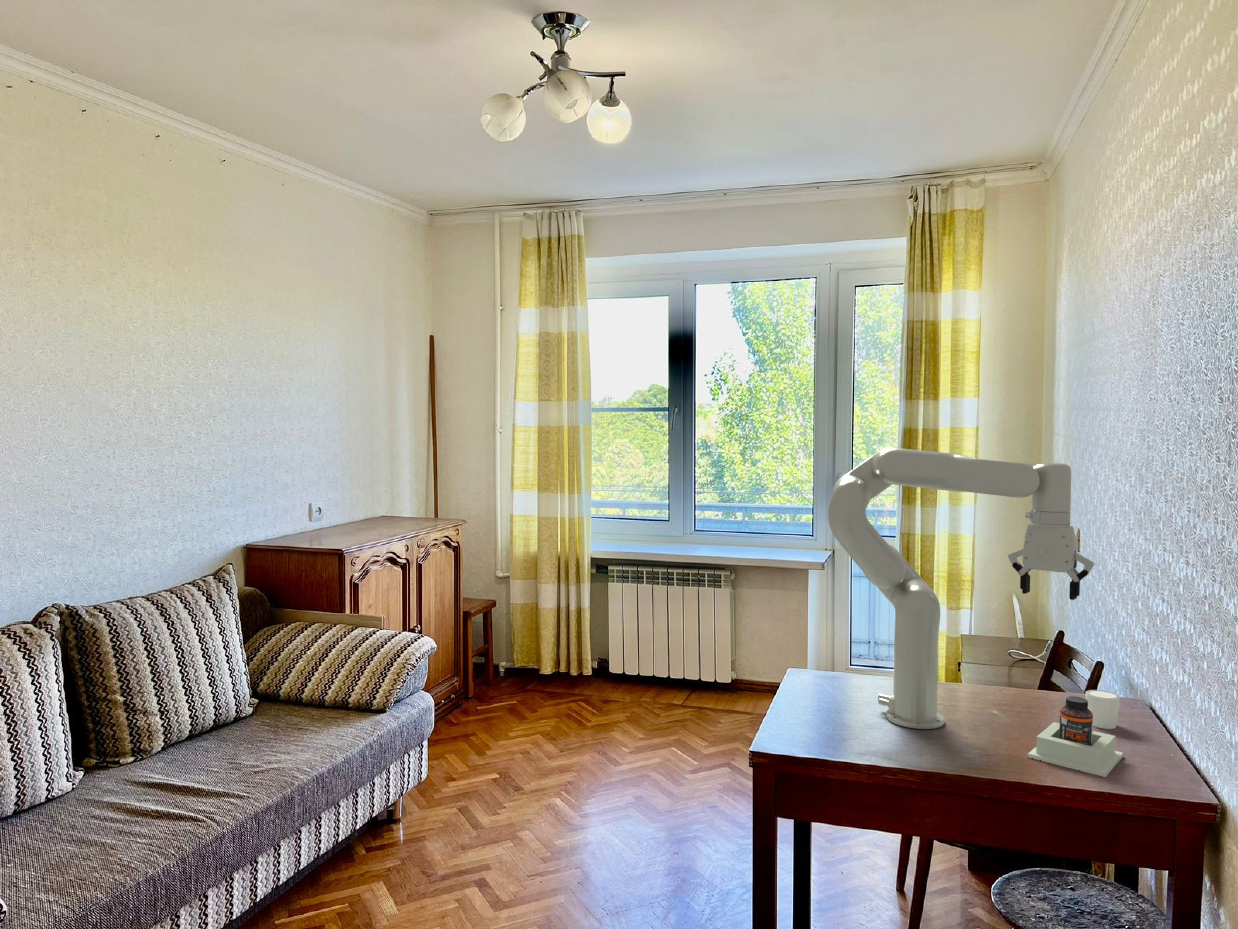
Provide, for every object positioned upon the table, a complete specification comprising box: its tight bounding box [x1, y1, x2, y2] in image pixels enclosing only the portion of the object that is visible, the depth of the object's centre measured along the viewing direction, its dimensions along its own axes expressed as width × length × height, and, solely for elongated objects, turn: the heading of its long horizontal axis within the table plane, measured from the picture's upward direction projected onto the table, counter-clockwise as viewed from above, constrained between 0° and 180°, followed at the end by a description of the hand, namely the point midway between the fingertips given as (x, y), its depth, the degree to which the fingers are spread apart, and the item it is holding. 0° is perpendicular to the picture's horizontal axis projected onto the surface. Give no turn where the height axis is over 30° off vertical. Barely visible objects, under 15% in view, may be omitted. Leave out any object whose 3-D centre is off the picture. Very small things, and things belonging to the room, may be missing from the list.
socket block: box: [1027, 722, 1124, 778], centre depth 168 cm, size 14×14×4 cm
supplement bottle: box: [1059, 695, 1094, 746], centre depth 167 cm, size 6×6×11 cm
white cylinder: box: [1084, 689, 1121, 730], centre depth 186 cm, size 7×7×7 cm
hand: (1049, 595), depth 181 cm, fingers open, 9 cm apart
